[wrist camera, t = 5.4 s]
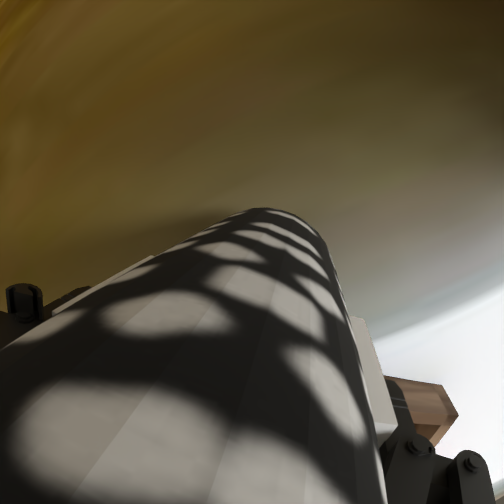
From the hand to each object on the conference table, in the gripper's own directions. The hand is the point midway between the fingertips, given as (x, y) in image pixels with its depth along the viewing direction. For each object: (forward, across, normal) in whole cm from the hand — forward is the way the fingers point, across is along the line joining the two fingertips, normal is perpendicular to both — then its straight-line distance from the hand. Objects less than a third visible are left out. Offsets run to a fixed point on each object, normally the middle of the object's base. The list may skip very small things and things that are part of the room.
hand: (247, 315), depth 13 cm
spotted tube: (+6, 0, 0) cm, 6 cm away
